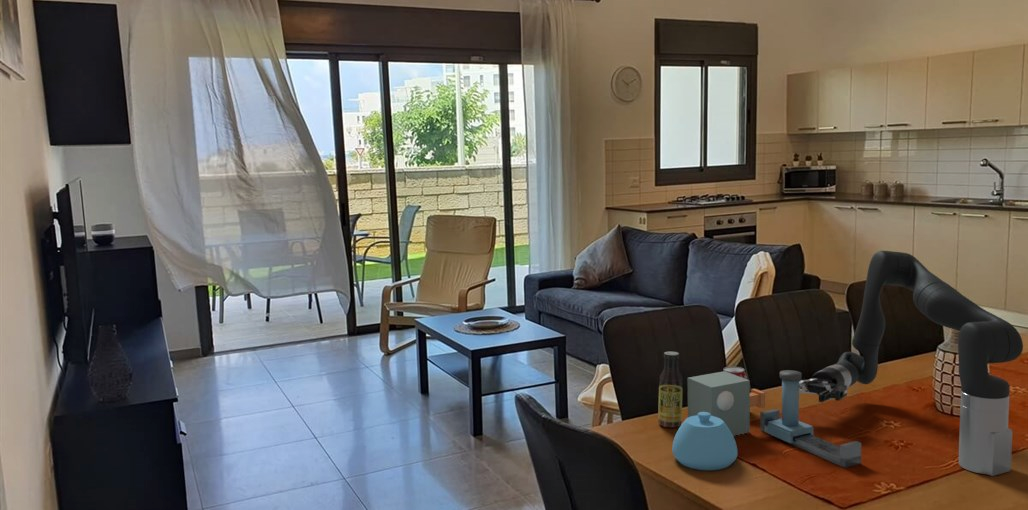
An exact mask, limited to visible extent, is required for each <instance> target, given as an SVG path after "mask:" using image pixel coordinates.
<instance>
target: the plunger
mask: <svg viewBox="0 0 1028 510" xmlns="http://www.w3.org/2000/svg"><path fill="white" fill-rule="evenodd" d="M750 407H758V408H760V409H765V407H766V392H764V391H762V390H760V389H757V388H751V389H750Z"/></svg>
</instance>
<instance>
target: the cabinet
mask: <svg viewBox="0 0 1028 510" xmlns="http://www.w3.org/2000/svg"><path fill="white" fill-rule="evenodd" d="M686 378H687V379H686V380H687V381H686V382H687V418H688V417H691V416H696V415H698V413H699V412H708V413H710V414H711V416H714V417H718V418H720V419H721V420H723V421H724V423H725V424H726V425H727V427H728V428H729V430H730V431H731V433H732V435H733V437H736V436H735V435H738V436H741V435H740V434H742V435H744V434H743V433H747V434H749V433H748V432H750V431H751V429H750V424H751V422H750V421H751V419H750V418H751V417H750V414H751V412H750V409H751V408H750V393H751V389H750V387H751V385H750V383H751V381H750V379H748V378H747V379H744V378H742V377H739V376H736V375H733V374H731V373H728V372H725V371H724V370H723V371H718V372H717V371H716V372H713V373H706V374H700V375H696V376H691V377H686ZM750 433H751V432H750Z"/></svg>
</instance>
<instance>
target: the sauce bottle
mask: <svg viewBox="0 0 1028 510" xmlns="http://www.w3.org/2000/svg"><path fill="white" fill-rule="evenodd" d="M663 359H664V363H663V365H664V366H663V369H662V371H661V372H660V373H661V374H660V375H659V385H658V406H657V407H658V411H657V412H658V413H657V418H658V424H659V426H662V427H664V428H669V429H671V428H678V427H679V428H680V426H681V425H682V419H683V418H682V417H683V390H684V388H683V376H682V373H681V372H680V370H679V359H680V353H679V352H678V351H665V352H663Z"/></svg>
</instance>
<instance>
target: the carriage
mask: <svg viewBox="0 0 1028 510" xmlns="http://www.w3.org/2000/svg"><path fill="white" fill-rule="evenodd" d="M802 374H803V373H802V372H801V371H798V370H791V369H786V370H780V371H779V379H781V418H780V419H779V420H774V421H769V422H768V434H767V435H769V434H771V435H770V436H772V435H773V436H772V437H774V436H775V437H774V438H776V437H777V438H776V439H778V438H780V439H779V440H781V439H782V440H781V441H783V440H784V441H783V442H785V441H786V442H785V443H787V442H789V443H788V444H790V443H793V437H794V436H798V435H803V434H807V433H808V434H811V435H813V436H814V427H813V425H810V424H808V423H805V422H803V421H800V418H799V417H800V413H799V412H800V411H799V410H800V392H799V389H800V388H799V380H803V379H802Z"/></svg>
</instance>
